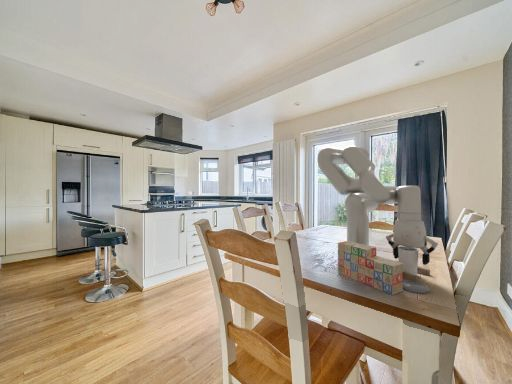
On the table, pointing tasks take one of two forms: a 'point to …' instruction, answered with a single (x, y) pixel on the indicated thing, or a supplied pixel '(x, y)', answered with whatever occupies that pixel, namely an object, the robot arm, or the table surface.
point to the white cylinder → (408, 259)
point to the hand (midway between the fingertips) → (410, 260)
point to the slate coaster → (415, 286)
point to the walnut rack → (414, 277)
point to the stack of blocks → (369, 267)
